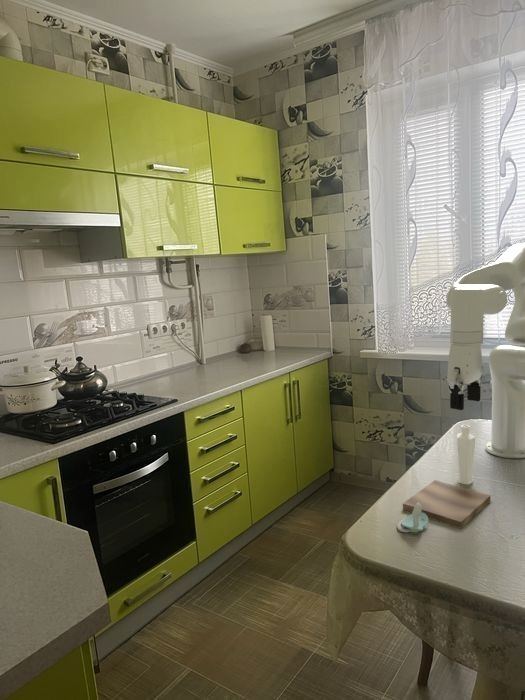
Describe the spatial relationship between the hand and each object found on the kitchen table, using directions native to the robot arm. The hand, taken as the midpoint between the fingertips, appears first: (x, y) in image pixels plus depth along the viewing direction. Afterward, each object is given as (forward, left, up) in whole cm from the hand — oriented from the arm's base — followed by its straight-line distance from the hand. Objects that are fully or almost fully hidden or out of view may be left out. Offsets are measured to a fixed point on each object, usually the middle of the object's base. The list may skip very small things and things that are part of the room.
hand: (465, 404), depth 129 cm
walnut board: (+15, +2, -21) cm, 26 cm away
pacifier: (+29, +1, -21) cm, 36 cm away
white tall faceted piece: (0, 0, -21) cm, 21 cm away
